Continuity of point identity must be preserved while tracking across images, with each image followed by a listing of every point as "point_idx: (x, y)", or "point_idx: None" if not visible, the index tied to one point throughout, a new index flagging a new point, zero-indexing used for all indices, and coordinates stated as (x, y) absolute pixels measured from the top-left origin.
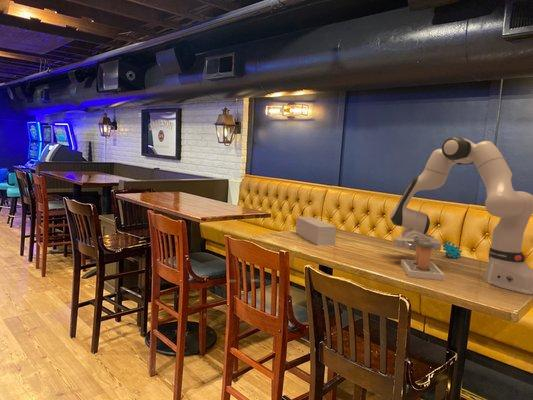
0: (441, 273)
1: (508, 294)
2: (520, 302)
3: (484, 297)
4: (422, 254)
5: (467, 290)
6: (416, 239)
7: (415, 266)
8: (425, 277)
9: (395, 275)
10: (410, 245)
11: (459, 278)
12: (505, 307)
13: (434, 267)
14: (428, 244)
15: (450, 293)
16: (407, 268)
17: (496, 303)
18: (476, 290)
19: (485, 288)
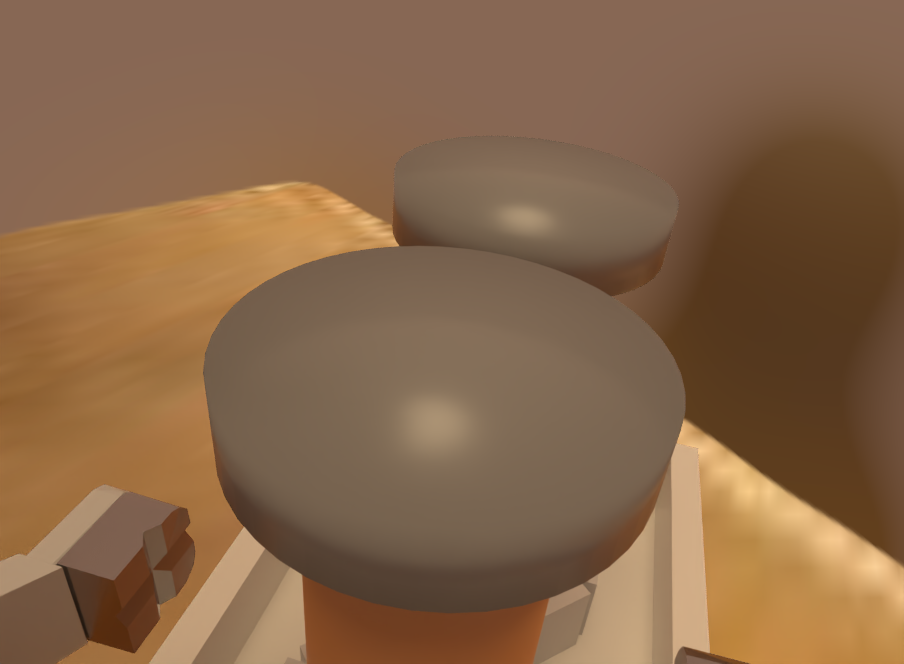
0: None
1: (43, 273)
2: (126, 218)
3: (273, 259)
4: None
5: None
6: (649, 334)
7: (556, 610)
8: None
9: (808, 627)
10: (706, 659)
11: (18, 539)
12: (283, 201)
13: (215, 639)
14: (545, 143)
15: None
16: (700, 525)
17: (283, 221)
18: (208, 320)
19: (80, 340)
